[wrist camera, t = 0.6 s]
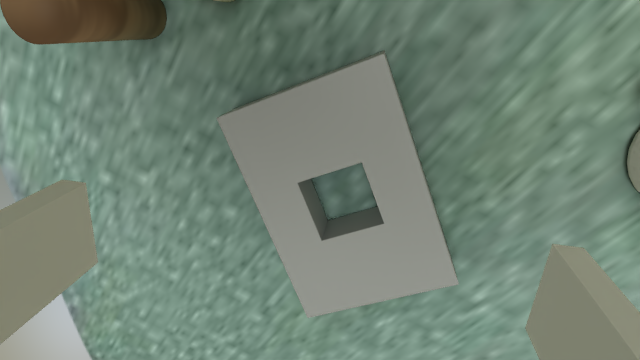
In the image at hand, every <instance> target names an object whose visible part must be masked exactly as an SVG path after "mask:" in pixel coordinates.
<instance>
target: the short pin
mask: <svg viewBox="0 0 640 360" xmlns="http://www.w3.org/2000/svg"><path fill="white" fill-rule="evenodd" d="M215 1H222V2H232V1H235V0H215Z"/></svg>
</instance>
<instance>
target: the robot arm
mask: <svg viewBox="0 0 640 360" xmlns="http://www.w3.org/2000/svg"><path fill="white" fill-rule="evenodd" d="M97 263H98V260H97V253H96V247H95V240H94V234H93V227H92V221H91V214H90V208H89V201H88V195H87V188H86V183H83V182H75V181H68V180H60V181H58V182H56V183H54V184H52V185H50V186H48V187H46V188H44V189H42V190H40V191H38V192H36V193H34V194H32V195H30V196H28V197H26V198H24V199H22V200H20V201H18V202H16V203H14V204H12V205H10V206H8V207H6V208H4V209H1V210H0V344H1V343H3V342H4V341H5V340H6V339H7V338H8V337H10V336H11V335H12V334H13V333H14V332H16V331H17V330H18V329H19V328H20V327H22V326H23V325H24V324H25V323H26V322H27V321H29V320H30V319H31V318H32V317H33V316H34V315H36V314H37V313H38V312H39V311H41V310H42V309H43V308H44V307H45V306H46V305H48V304H49V303H50V302H51V301H52V300H54V299H55V298H56V297H57V296H58V295H60V294H61V293H62V292H63V291H64V290H66V289H67V288H68V287H69V286H70V285H72V284H73V283H74V282H75V281H76V280H77V279H79V278H80V277H81V276H82V275H83V274H85V273H86V272H87V271H88V270H89V269H91V268H92V267H93V266H94V265H95V264H97ZM526 331H527V333H528V335H529V337H530V340H531V342H532V344H533V346H534V348H535V351H536V353H537V355H538V357H539V360H640V312H639V311H638V310H637V309H636V308H635V307H634V305H633V304H632V303H631V302H630V301H629V300H628V299H627V297H626V296H625V295H624V294H623V293H622V292H621V290H620V289H619V288H618V287H617V286H616V285H615V284H614V282H613V281H612V280H611V279H610V278H609V277H608V275H607V274H606V273H605V272H604V271H603V270H602V269H601V267H600V266H599V265H598V264H597V263H596V262H595V260H594V259H593V258H592V257H591V256H590V255H589V253H588V252H587V251H586V250H585V249H584V248H580V247H572V246H565V245H557V244H552V247H551V250H550V253H549V256H548V259H547V262H546V266H545V269H544V272H543V275H542V278H541V281H540V284H539V287H538V290H537V293H536V297H535V300H534V303H533V306H532V309H531V312H530V315H529V318H528V321H527V324H526Z"/></svg>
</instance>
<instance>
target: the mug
mask: <svg viewBox="0 0 640 360" xmlns="http://www.w3.org/2000/svg"><path fill="white" fill-rule="evenodd" d="M627 167H628V174H629V177H630V179H631V181H632V183H633V185H634V187H635V188H636V189H637V190H638V191H639V192H640V130H639V131H638V132H637V134H636V135H635V137H634V139H633V141H632V144H631V146H630V148H629V152H628V159H627Z"/></svg>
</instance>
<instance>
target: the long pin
mask: <svg viewBox="0 0 640 360" xmlns="http://www.w3.org/2000/svg"><path fill="white" fill-rule="evenodd" d="M0 4H1V9H2V12H3V15H4V17H5V19H6V21H7V23H8V25H9V26H10V27H11V29H12V30H13V31H14V32H15V33H16V34H17V35H18V36H19V37H21V38H22V39H24V40H25V41H27V42H30V43H33V44H58V43H78V42H99V41H119V40H140V39H153V38H155V37H157V36H159V35H160V34H161V33H162V31H163V30H164V28H165V25H166V19H167V17H166V10H165V7H164V5H163V3H162V1H161V0H0Z"/></svg>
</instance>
